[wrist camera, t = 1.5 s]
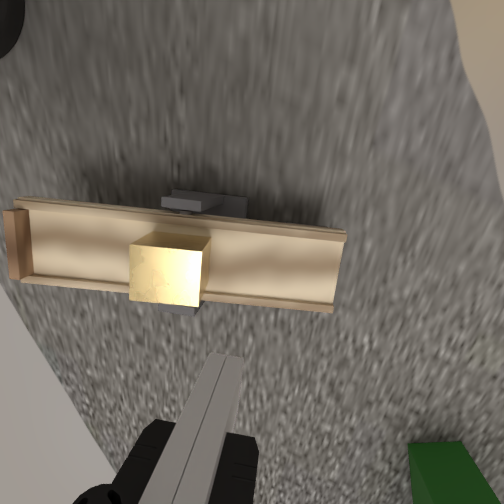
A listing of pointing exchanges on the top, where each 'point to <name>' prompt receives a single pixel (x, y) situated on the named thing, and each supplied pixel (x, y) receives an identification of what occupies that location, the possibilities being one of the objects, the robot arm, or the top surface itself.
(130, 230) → the beam
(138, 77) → the top surface
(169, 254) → the rider
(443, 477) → the hardback book
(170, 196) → the pivot stand
